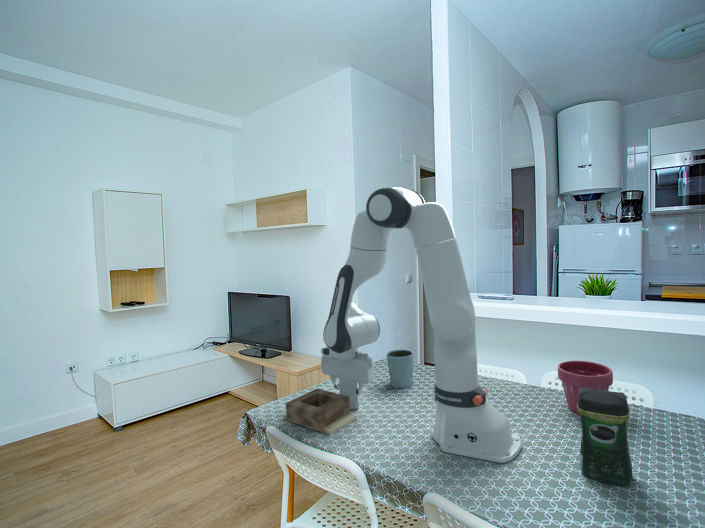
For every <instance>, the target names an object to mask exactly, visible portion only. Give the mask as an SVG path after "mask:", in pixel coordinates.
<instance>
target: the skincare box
mask: <svg viewBox="0 0 705 528" xmlns="http://www.w3.org/2000/svg"><path fill="white" fill-rule="evenodd" d="M338 375H339V377H338V383H339V387H340V389H339V394H341V395H345V396H349V403H350V410H359V408H360V405H361V403H360V395H358V394H356V389H358V388H359V385H358V382H356V381H352V380H347V379H346V378H345V374H344V373H339V374H338Z"/></svg>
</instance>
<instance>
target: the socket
mask: <svg viewBox="0 0 705 528" xmlns="http://www.w3.org/2000/svg"><path fill="white" fill-rule="evenodd" d="M285 411H286V413H285V414H283V415H282V420H285V421H289V422H292V423H295V424H297V425H300V426H304V427H307V428H309V429H312V430H314V431H318V432H320V433H323V434H326V435H329V436H330V435H332V434H333V433H336V432H337V431H338V430H340V429H342V428H344V427H345V426H346V425H348V424H350V423H351V422H353V421H354V420H356V417H357V416H356V415H355V414H352V413H351V409H350V403H349V396H345V395H341V394H340V393H336V392H333V391H330V390H326V389H325V390H324V389H321V388H315V389H313V390H311V391H309V392H307V393H304V394H303V395H300V396H298V397H296V398H293V399H292V400H290V401H287V402H286V403H285Z"/></svg>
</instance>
